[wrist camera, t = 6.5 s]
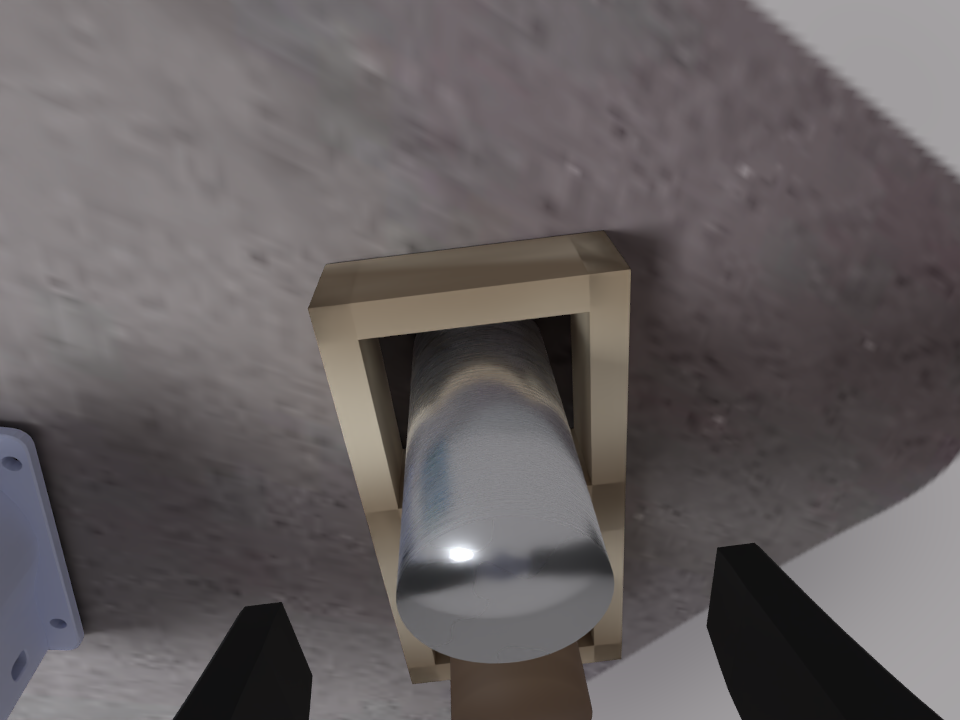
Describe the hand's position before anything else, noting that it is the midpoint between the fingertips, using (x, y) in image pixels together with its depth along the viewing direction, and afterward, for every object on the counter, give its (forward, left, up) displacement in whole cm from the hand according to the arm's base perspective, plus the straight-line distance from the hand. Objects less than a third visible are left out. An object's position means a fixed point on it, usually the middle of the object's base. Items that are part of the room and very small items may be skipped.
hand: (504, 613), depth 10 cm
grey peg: (0, 0, -8) cm, 8 cm away
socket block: (-3, -1, -8) cm, 9 cm away
